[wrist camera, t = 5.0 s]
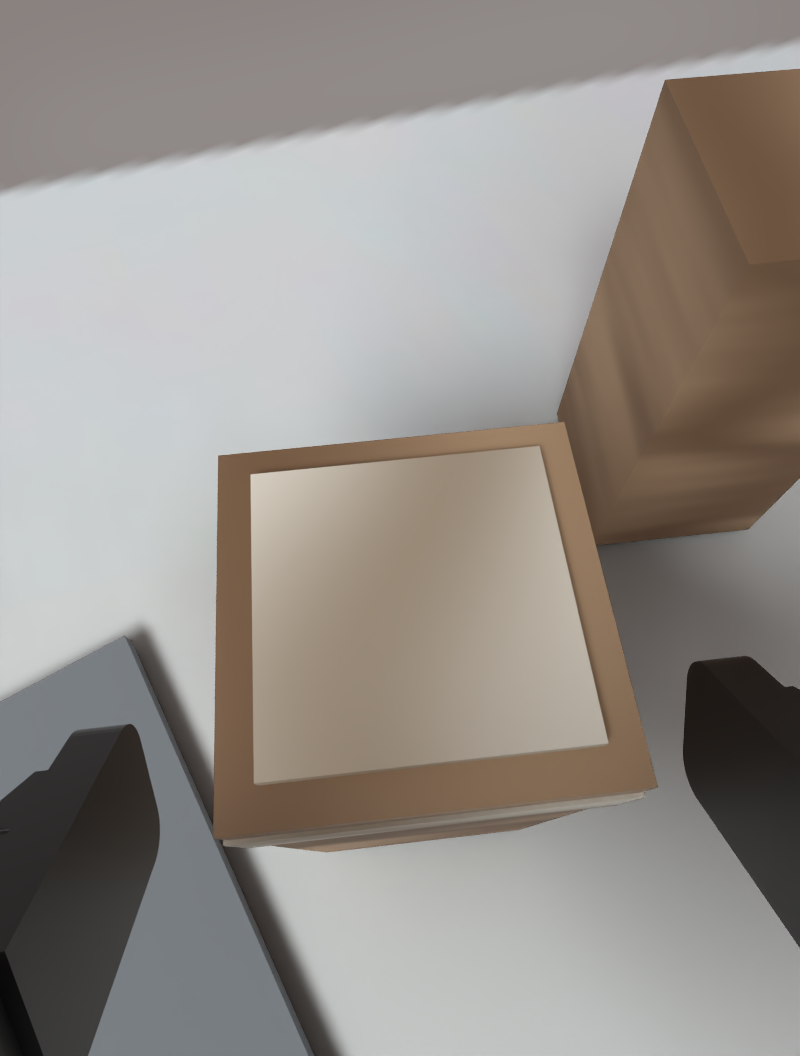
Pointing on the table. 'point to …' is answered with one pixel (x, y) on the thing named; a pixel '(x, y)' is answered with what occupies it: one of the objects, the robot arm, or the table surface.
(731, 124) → the plain box
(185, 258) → the table surface
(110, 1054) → the slate mat
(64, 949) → the robot arm
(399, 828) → the label box
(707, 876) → the table surface
